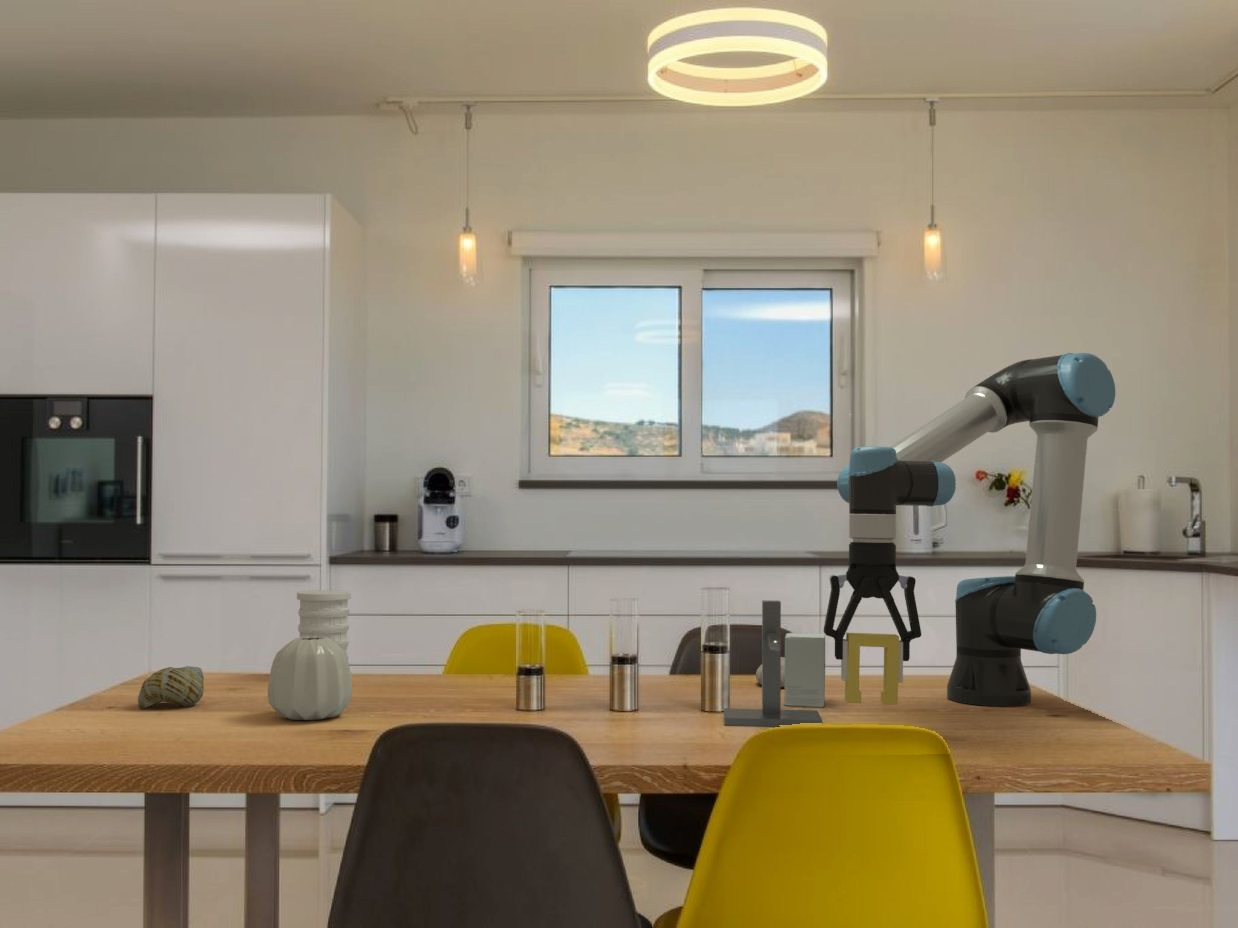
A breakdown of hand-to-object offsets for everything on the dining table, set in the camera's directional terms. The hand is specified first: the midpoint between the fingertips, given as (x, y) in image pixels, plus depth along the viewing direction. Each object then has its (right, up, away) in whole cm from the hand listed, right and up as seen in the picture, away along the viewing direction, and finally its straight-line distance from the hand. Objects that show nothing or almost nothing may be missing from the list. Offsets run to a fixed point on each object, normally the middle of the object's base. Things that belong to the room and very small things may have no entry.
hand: (871, 680), depth 185 cm
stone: (-8, -10, +46) cm, 48 cm away
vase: (-94, -8, +8) cm, 94 cm away
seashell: (-121, -8, +17) cm, 122 cm away
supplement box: (-7, -9, +24) cm, 27 cm away
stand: (-16, -8, +3) cm, 18 cm away
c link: (0, -4, 0) cm, 4 cm away
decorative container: (-102, -9, +48) cm, 113 cm away
